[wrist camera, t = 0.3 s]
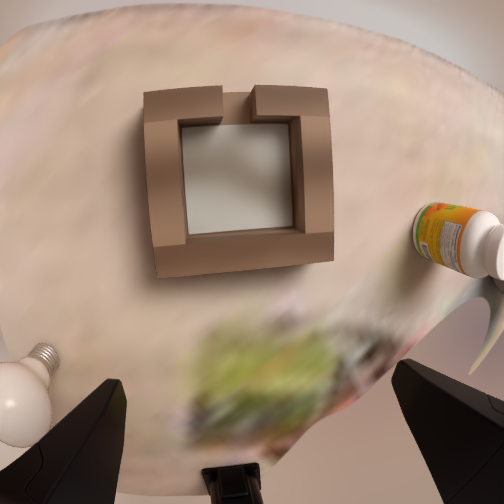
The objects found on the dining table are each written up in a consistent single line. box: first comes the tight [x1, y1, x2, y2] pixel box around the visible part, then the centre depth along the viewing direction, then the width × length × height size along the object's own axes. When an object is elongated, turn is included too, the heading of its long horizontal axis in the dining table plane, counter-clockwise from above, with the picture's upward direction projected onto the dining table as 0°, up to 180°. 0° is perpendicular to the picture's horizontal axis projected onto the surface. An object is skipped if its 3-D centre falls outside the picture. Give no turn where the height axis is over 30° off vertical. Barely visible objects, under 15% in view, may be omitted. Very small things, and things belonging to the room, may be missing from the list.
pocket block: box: [144, 85, 334, 279], centre depth 19 cm, size 12×12×4 cm
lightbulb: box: [0, 343, 59, 448], centre depth 16 cm, size 6×6×11 cm
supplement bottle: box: [413, 202, 504, 280], centre depth 20 cm, size 5×5×10 cm
